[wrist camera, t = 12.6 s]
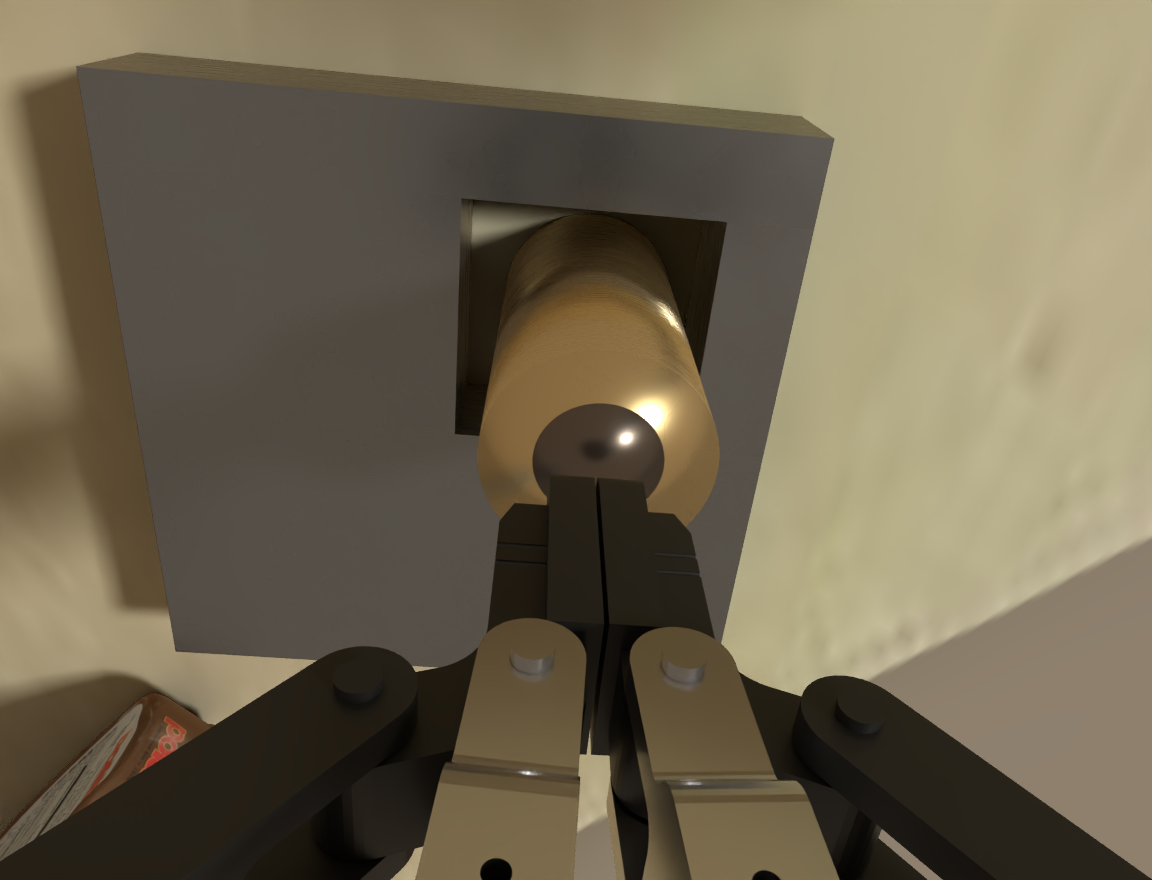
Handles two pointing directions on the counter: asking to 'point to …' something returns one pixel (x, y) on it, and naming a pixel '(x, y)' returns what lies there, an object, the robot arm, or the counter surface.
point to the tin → (106, 765)
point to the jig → (394, 325)
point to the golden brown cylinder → (594, 374)
